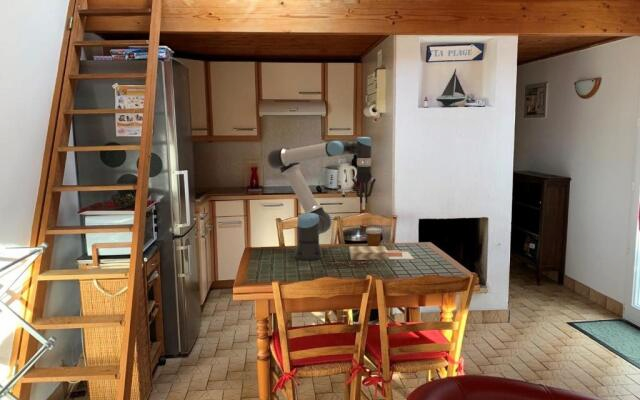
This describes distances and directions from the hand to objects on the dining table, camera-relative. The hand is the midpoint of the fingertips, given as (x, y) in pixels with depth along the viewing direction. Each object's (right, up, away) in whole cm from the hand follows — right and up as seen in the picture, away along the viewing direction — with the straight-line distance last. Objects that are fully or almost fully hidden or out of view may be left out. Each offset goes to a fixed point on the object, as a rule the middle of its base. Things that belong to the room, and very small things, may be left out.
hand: (363, 209), depth 261 cm
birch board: (+3, -26, +4) cm, 27 cm away
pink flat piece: (+17, -25, +4) cm, 31 cm away
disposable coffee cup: (+8, -24, +21) cm, 33 cm away
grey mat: (+20, -26, +4) cm, 33 cm away
